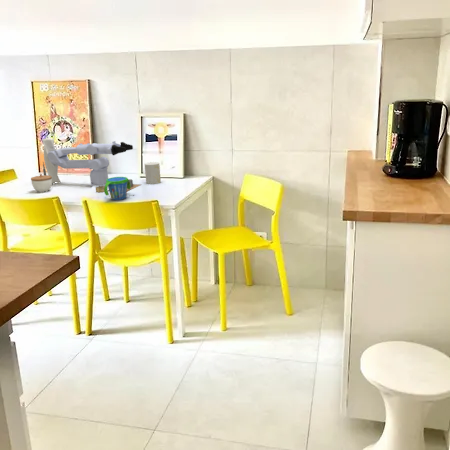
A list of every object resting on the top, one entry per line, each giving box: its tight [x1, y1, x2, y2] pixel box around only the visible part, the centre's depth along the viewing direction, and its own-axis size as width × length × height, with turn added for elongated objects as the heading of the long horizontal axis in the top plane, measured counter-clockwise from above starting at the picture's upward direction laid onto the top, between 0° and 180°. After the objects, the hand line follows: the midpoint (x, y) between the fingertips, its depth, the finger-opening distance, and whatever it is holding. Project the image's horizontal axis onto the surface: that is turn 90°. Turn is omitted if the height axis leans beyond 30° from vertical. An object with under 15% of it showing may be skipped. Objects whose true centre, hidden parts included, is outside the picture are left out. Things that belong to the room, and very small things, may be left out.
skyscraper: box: [41, 134, 61, 184], centre depth 287 cm, size 8×8×28 cm
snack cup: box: [103, 176, 131, 201], centre depth 245 cm, size 16×10×10 cm
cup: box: [144, 161, 162, 185], centre depth 273 cm, size 8×8×12 cm
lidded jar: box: [30, 173, 53, 193], centre depth 269 cm, size 11×11×9 cm
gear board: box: [107, 183, 143, 192], centre depth 264 cm, size 12×18×4 cm, turn 163°
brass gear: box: [95, 185, 105, 193], centre depth 258 cm, size 6×6×4 cm
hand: (129, 148), depth 266 cm, fingers open, 7 cm apart
